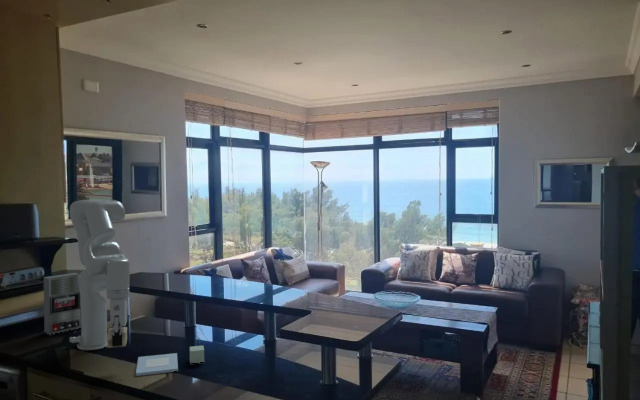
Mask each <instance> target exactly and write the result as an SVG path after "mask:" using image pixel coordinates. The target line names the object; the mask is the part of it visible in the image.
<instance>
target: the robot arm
mask: <svg viewBox="0 0 640 400" xmlns="http://www.w3.org/2000/svg"><path fill="white" fill-rule="evenodd" d="M69 217H70V221H71V223H72V226H73V228H74V230H75V233H76V237H77V245H78V246H77V248H78V255H79V260H80V264H81V265H83V266H84V267H85V269H84V270H82V271H81V272H80V273H78V274H79V276H78V284H79V290H80V297H81V330H80V333H81V335H78V336H70V337H69V343H71V344H75V343H76V346H77V349H79V350H80V351H95V350H96V351H97V350H100V349H105V348H107V333H108V324H107V323H108V312H107V311H108V310H107V307H108V305H107V300H109V305H110V306H109V311H110V312H109V318H110V328H113V335H112V346H122V334H121V330H122V327H127V326H126V325H127V322H128V298H129V297H130V289H131V288H130V285H131V284H130V280H131V279H130V278H131V277H130V274H131V273H130V266H131V265H130V260H129V259H128V258H127V257H126V255H125V254H122V249H121V246H120V244H119V243H118V242H116V241H111V240H112V239H114V237H115V235H116V230H115V228H114V224H113V223H121V222H123V221H124V220H125V218H126V209H125V206H124V205H123V203H122V202H121V201H119V200H115V199H81V200H75V201H73V202H72V203H71V205H70V206H69ZM104 291H106V298H105V297H104V296H103V295H102V294H101V293H102V292H104ZM106 299H107V300H106ZM118 328H120V330H119V329H118ZM104 347H105V348H104Z"/></svg>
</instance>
